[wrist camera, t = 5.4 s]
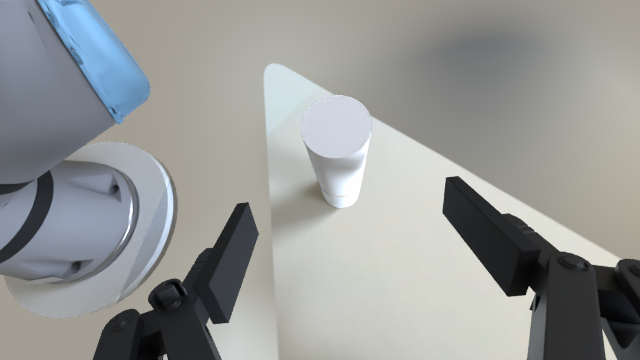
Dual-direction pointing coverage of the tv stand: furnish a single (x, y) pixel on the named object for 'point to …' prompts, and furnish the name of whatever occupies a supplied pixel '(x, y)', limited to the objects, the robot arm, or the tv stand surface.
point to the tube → (337, 146)
